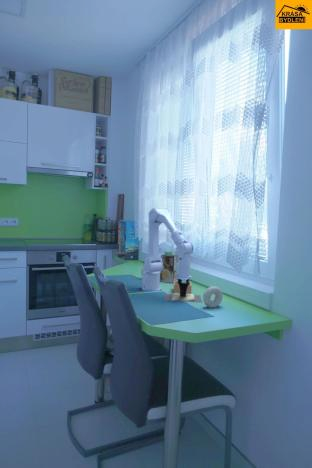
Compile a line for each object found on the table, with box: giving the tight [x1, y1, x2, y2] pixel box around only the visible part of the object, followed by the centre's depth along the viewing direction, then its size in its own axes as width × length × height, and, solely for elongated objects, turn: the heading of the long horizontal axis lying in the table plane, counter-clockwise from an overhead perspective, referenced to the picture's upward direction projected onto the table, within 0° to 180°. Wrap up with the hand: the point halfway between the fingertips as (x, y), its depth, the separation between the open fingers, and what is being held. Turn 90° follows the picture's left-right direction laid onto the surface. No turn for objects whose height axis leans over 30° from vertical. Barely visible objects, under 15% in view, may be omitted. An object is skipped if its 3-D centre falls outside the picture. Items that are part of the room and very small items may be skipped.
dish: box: [173, 280, 192, 294], centre depth 179 cm, size 9×9×5 cm
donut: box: [202, 285, 224, 309], centre depth 152 cm, size 10×3×10 cm, turn 117°
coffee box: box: [159, 254, 178, 284], centre depth 205 cm, size 9×6×16 cm
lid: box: [171, 292, 195, 302], centre depth 166 cm, size 11×11×5 cm
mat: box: [163, 293, 203, 303], centre depth 166 cm, size 18×13×1 cm
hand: (182, 294), depth 166 cm, fingers open, 4 cm apart
